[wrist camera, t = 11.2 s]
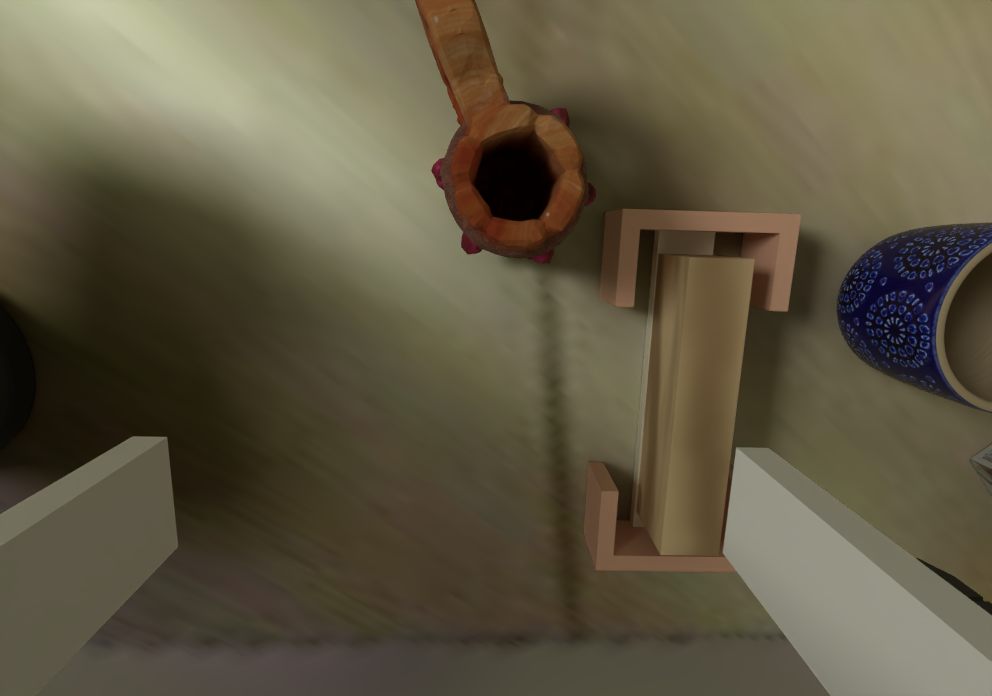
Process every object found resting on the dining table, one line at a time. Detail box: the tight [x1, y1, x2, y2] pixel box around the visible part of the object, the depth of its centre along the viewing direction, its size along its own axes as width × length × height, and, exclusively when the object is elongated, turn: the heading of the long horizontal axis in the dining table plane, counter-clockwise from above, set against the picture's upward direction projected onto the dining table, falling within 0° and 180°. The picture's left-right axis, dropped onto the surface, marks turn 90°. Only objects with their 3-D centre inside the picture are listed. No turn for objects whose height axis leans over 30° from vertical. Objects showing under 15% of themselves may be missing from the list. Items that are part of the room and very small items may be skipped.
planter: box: [837, 223, 992, 413], centre depth 36 cm, size 11×11×11 cm
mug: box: [415, 0, 596, 263], centre depth 31 cm, size 15×8×15 cm, turn 23°
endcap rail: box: [583, 209, 801, 572], centre depth 40 cm, size 11×25×5 cm, turn 178°
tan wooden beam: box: [636, 254, 755, 556], centre depth 38 cm, size 4×20×6 cm, turn 179°
